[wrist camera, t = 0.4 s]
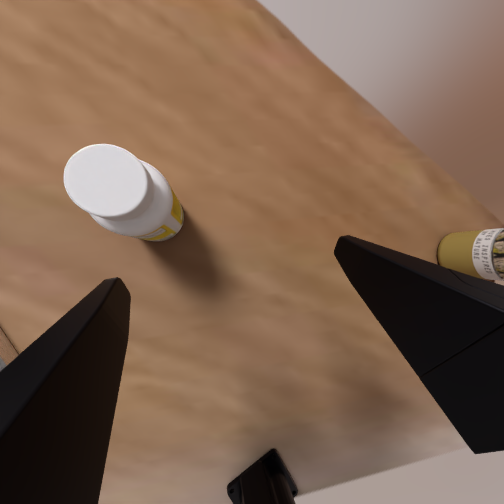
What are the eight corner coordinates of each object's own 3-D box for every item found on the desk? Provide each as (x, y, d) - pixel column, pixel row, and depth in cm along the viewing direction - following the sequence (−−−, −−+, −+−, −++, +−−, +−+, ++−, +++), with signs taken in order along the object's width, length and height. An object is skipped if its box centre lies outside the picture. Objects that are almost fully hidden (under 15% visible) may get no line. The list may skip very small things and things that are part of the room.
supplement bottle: (149, 180, 19) (92, 107, 10) (194, 211, 20) (183, 173, 11) (116, 221, 19) (19, 188, 9) (164, 252, 20) (123, 250, 10)
